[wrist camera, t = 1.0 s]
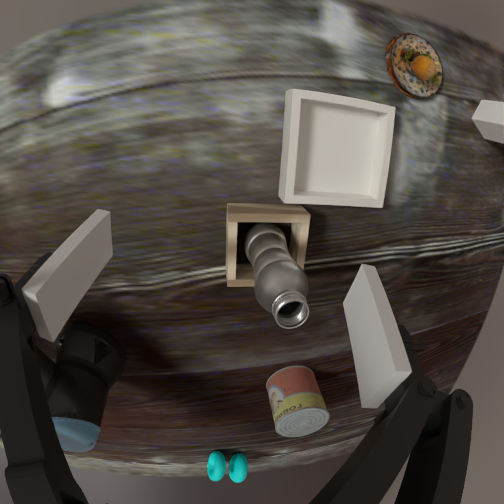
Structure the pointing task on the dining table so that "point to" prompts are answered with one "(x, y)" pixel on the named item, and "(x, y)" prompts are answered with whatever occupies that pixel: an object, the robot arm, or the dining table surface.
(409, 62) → the patterned ceramic bowl
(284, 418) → the canned food
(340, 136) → the plastic tray
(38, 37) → the dining table surface
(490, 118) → the milk
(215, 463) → the turquoise yo-yo
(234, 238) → the wooden collar
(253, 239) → the plastic bottle
